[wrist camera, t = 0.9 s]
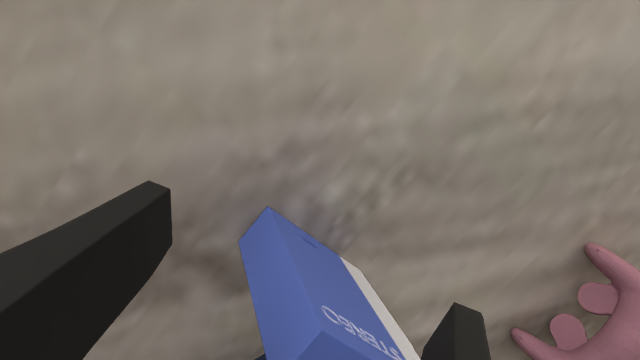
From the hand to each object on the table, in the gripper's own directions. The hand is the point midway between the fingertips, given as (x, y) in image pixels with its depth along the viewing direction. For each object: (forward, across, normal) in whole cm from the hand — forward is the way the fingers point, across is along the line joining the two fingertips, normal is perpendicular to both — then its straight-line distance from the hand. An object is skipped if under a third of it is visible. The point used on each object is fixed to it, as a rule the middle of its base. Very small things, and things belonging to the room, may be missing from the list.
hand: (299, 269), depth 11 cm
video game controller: (+21, -17, +18) cm, 32 cm away
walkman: (+11, +2, +13) cm, 18 cm away
